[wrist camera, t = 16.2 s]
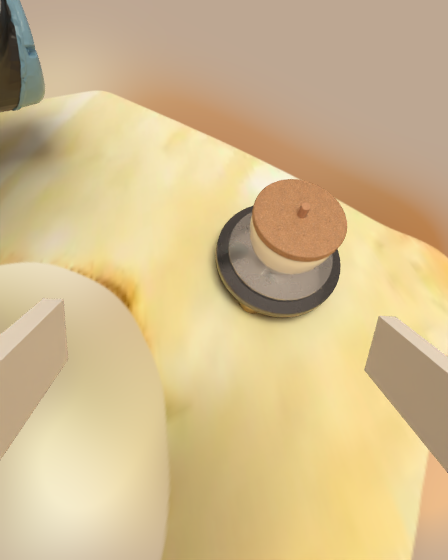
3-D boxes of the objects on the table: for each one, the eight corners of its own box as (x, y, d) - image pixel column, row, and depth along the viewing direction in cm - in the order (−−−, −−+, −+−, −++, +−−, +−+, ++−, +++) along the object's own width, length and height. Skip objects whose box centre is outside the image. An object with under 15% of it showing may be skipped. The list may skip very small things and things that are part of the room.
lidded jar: (235, 278, 40) (250, 236, 32) (248, 210, 45) (263, 159, 37) (319, 295, 41) (355, 259, 32) (322, 227, 46) (354, 179, 37)
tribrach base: (212, 320, 43) (216, 306, 38) (215, 215, 50) (218, 194, 46) (335, 326, 45) (353, 314, 40) (321, 224, 52) (334, 204, 48)
